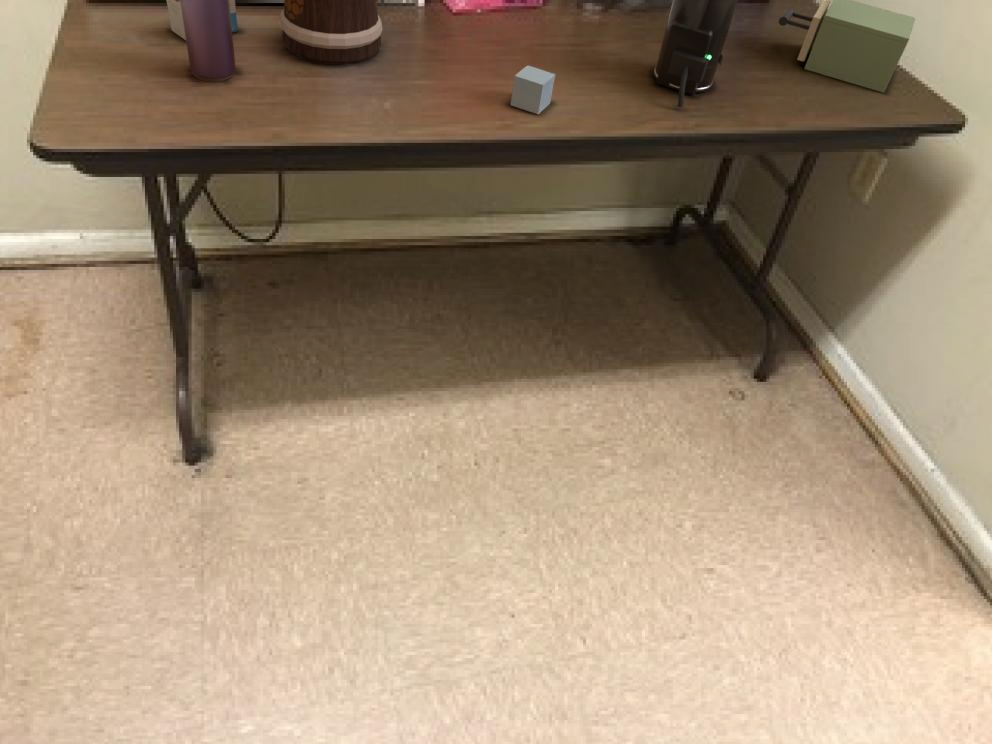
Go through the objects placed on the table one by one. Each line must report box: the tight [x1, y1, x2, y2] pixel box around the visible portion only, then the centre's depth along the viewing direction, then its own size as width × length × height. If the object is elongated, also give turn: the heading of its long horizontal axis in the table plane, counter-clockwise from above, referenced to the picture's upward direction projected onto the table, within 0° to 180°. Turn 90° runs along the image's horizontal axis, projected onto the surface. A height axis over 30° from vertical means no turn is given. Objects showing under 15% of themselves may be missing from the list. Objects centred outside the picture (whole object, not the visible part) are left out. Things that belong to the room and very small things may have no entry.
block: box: [510, 65, 556, 115], centre depth 116 cm, size 4×4×4 cm
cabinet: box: [804, 0, 916, 94], centre depth 139 cm, size 14×12×9 cm
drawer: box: [778, 0, 831, 63], centre depth 140 cm, size 18×10×7 cm, turn 64°
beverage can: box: [180, 0, 237, 83], centre depth 107 cm, size 6×6×15 cm
